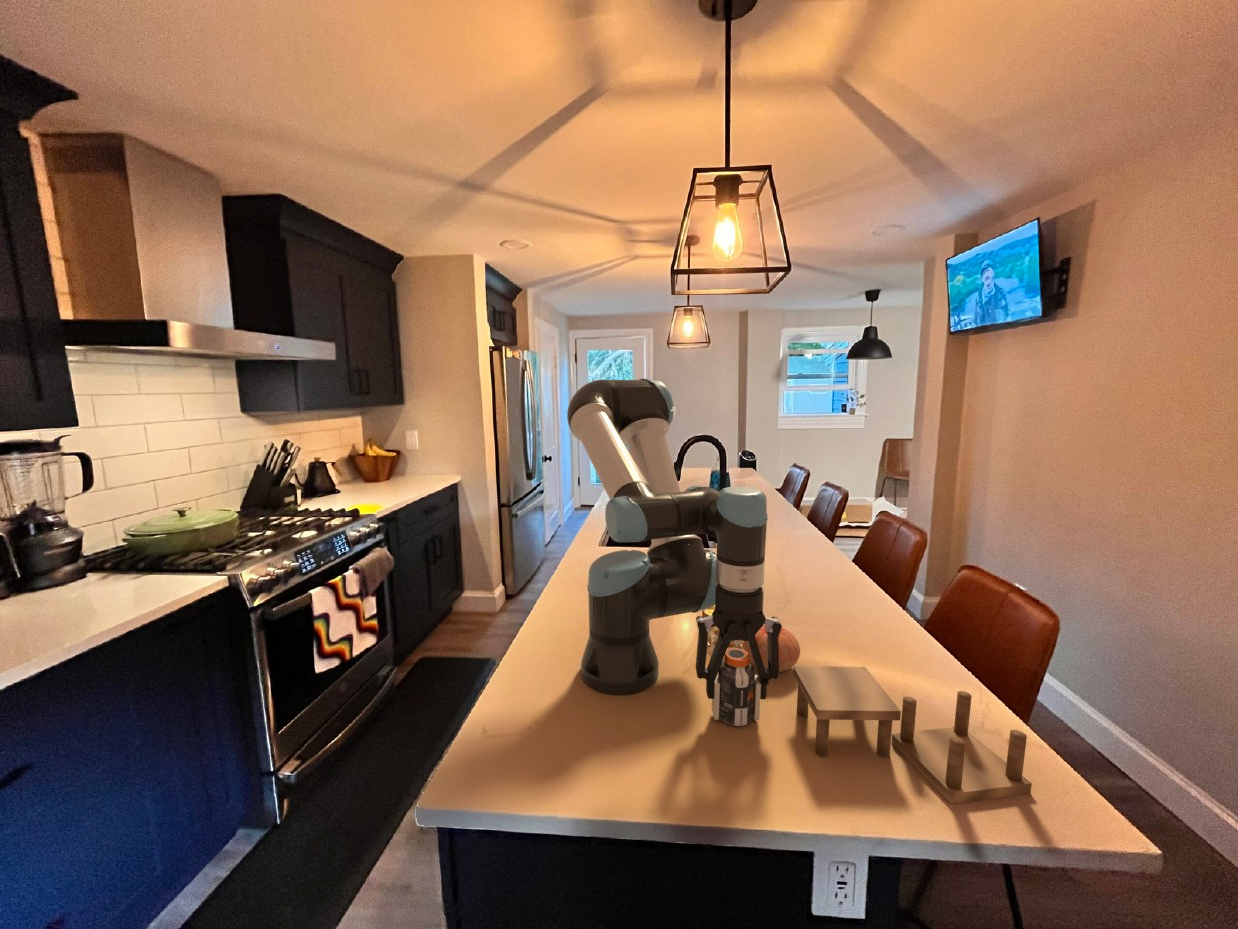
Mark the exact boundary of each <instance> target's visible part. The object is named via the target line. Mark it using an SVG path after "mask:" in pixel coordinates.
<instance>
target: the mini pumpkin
mask: <svg viewBox="0 0 1238 929" xmlns="http://www.w3.org/2000/svg"><path fill="white" fill-rule="evenodd" d="M755 637H756V640H757V644H758V648H759V651H760V655H761V658H762V661H763V665H764V668H765V669H766V668H768V646H767V630H766V628H765V624H764V625H763V626H762V627H761V628H760V630H759V631H758V632H757V633H756V634H755ZM742 642H743V643H742V647H743V650H745V651H746V652H748V653H749V656H750V659H749V660H750V664H751V665H753V666H755V664H754V660H753V657H752V654H751V650H750V647H749V644H748V641H742ZM778 644H779V673H780V672H785V671H787V670H789V669H791V668H793V666H796V664H797V663H798V661H799V658H800V656H801V646H800V644H799V641H798V639H797V638H796V636H795V635H794V634H793V633H792V632H791V631H790V630H788V629H787V628H784V627H782V628H781V631H780V634H779V637H778Z"/></svg>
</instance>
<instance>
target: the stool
mask: <svg viewBox="0 0 1238 929" xmlns="http://www.w3.org/2000/svg"><path fill="white" fill-rule="evenodd" d="M792 675H793V677H794V680H795V681H796V683H797V693H796V694H797V695H796V696H797V699H796V700H797V701H796V716H797V717H799V718H802V719H806V718H808V717H809V708H811V711H812V712H813V714H814V716H815V718H816V724H815V725H816V726H815V727H816V728H815V747H814V749H815V750H814V753H815V754H816V755H817V756H819V757H821V758H826V757H828V756H829V739H830V738H829V737H830V721H831V720H832V721H833V720H834V721H835V720H837V721H839V720H840V721H878V724H877V725H878V726H877V738H876V754H877V755H878V756H879V757H881V758H885V759H888V758H890V756H891V744H892V731H893V730H892V729H893V721H901V718H902V710H901V709H900V708H899V707H898V706H897V704H896V703H895V701H893V700H892V698H891V697H890V695H889V694H888V693H887V692H886V691H885V689H883V687H882V686H881V684H880V683H879V682H878V681H877V680H876V678H875V677H874V676H873V675H872V673H871V672H870V671H869V670H868V668H867V667H866V666H830V665H829V666H827V665H825V666H819V665H817V666H814V665H813V666H811V665H810V666H808V665H807V666H806V665H803V666H802V665H794V666H793V667H792Z"/></svg>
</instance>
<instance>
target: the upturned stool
mask: <svg viewBox="0 0 1238 929" xmlns="http://www.w3.org/2000/svg"><path fill="white" fill-rule="evenodd" d="M971 694H972V693H969V692H967V691H962V690H958V691H957V693H956V706H955V713H954V714H955V715H954V716H955V717H954V724H953V726H952V727H944V728H943V727H942V728H933V729H926V730H924V729H923V730H916V731H915V725H916V715H917V714H916V713H917V705H918V704H917V700H916V699H915V698H914V697H911V696H906V695H905V696H903V697H902V705H901V706H902V707H901V708H902V709H901V717H900V731H899V733H898V732H896V733H891V744H892V745H893V746H894V747H895V748H896V749H897V750H898V751H899V752H900V753H901V754H902V755H903V756H904V757H905V759H907V760H908V761H909V762H910V763H911V764H912V765H913V767H915V768H916V769H917V771H919V773H920V774H921V775H923V777H924V778H925V779H926V780H927V781H928V782H929V783H930V784H931V785H932V786H933V787H934V788H935V789H936V790H937V792H939V793H940V794H941V795H942V796H943V797H944V798H945V799H946V801H948V803H950V804H953V805H954V804H961V803H967V802H974V801H975V802H977V801H982V800H983V801H985V800H989V799H991V800H992V799H998V798H999V799H1000V798H1006V797H1012V796H1013V797H1015V796H1021V795H1027V794H1031V793H1032V786H1033V784H1032V782H1031V781H1030V780H1028V779H1027V778H1026V777H1024V775H1023V772H1024V764H1025V755H1026V747H1027V739H1028V738H1027V737H1028V736H1027V734H1026V733H1024V732H1023V731H1021V730H1018V729H1010V731H1009V738H1008V739H1009V740H1008V745H1007V746H1008V749H1007V756H1006V761H1005V760H1004V759H1003V758H1001V756H999V755H998V754H996V753H995V752H994V751H993V750H992V749H990V748H989V747H988V746H987V745H986V744H984V743H983V742H982V741H981V740H979V739H978V738H977V737H976V736H974V735H973V734H972V733H971V732H969V726H970V715H971V706H972V695H971Z"/></svg>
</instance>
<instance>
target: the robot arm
mask: <svg viewBox="0 0 1238 929" xmlns="http://www.w3.org/2000/svg"><path fill="white" fill-rule="evenodd" d="M673 407H674V401H673V398H672V394H671V392H670V391H669V389H668V387H667V385H665V384H664V382H662V381H660V380H657V379H648V378H639V379H596V380H592V381H589V382H588V383H586V384H583V386H581V387H580V388H579V389H578V390H577V391H576V393H575V394H573V396H572V397H571V400H570V402H569V404H568V408H567V411H566V412H567V414H566V416H567V417H566V418H567V423H568V427H569V429H570V432H571V433H572V435H573V436H574V438H576V439H577V440H578V441H580V442H581V443H582V446H583V447H584V449H585V451H586V454H587V455H588V458H589V460H590V462H591V464H592V466H593V468H594V470H595V472H596V474H597V476H598V478H599V481H600V483H601V485H602V487H603V489H604V491H605V492H606V495H607V498H608V499H609V500H608V501H607V503H606V505H605V511H604V512H605V516H604V517H605V525H606V527H607V528H606V529H607V532H608V535H609V537H610V538H611V539H612V540H613V541H614V542H616V543H640V542H643V541H650V540H651V544H650V546H649V548H648V549H647V551H646V552H644V551H640V550H637V549H636V550H635V549H631V550H629V549H624V550H617V551H612V552H608V553H606V554H603V555H601V556H600V557H597V558H596V559H595V560H594V561H593V562H592V563H591V565H590V566H589V570H588V579H587V580H588V581H587V584H586V586H587V587H586V588H587V592H588V594H587V595H588V626H589V627H588V629H589V635H588V640H587V643H586V646H585V648H584V651H583V655H582V657H581V663H580V670H581V671H580V675H581V679H582V680H583V682H584V683H585V685H587V687H589V688H591V689H593V690H595V691H597V692H600V693H604V694H608V695H630V694H634V693H638V692H642V691H644V690H646V689H649V687H651V686H652V685H653V684H655V683H656V681H657V679H659V678H658V677H659V669H660V668H659V659H658V656H657V652H656V650H655V647H654V645H653V641H652V638H651V635H650V621H652V620H654V619H662V618H667V617H673V616H679V615H683V614H689V613H692V614H693V613H694V614H696V613H698V612H701V611H705V610H708V609H712V608H713V607H714V609H713V612H712V613H711V615H708V616H705V617H703V616H702V615H697V616H696V617H695V620H696V621H695V622H696V625H697V628H698V634H697V644H696V645H697V648H696V656H695V657H696V659H695V672H696V676H697V678H698V679H699V680H702V679H704V680H706V681H705V682H706V684H705V691H706V696H707V699H711V712H712V716H713V720H718V721H719V720H720V717H719V695H720V682H719V679H718V672H719V669H720V666H721V663H722V661H724V658H725V653H726V650H728V648H729V647H730V645H731V643H732V642H735V641H736V642H737V641H742V642H744V641H748V644H749V647H750V650H751V654H752V657H753V660H754V664H755V665H754V664H753V665H754V667H755V669H756V670H755V671H756V673H757V674H755V685H754V709H753V720H754V721H760V714H761V713H760V712H761V700H766V698H767V689H768V685H769V684H770V680H775V681H776V680H778V679H779V678H780V672H779V644H778V637H779V634H780V631H781V628H783V625H782V624H781V622H780V620H779V617H777V616H775V615H774V616H771V617H770V616H765V614H764V593H765V590H764V587H763V586H764V585H765V584H764V583H765V559H766V558H765V556H766V544H767V525H768V524H767V523H768V518H769V517H768V513H767V512H768V511H767V510H768V509H767V503H768V502H767V500H768V499H767V495H766V493H764V492H763V491H762V490H761V489H758V488H755V487H749V486H748V487H747V486H728V487H724V488H722V489H721V490H719V491H718V490H716V489H714V488H711V487H710V486H703V485H699V484H698V485H693V486H690V487H688V488H686V489H685V490H683V491H681V489H680V485H679V481H678V477H677V474H676V471H675V467H674V463H673V460H672V457H671V453H670V450H669V446H668V443H667V438H666V435H667V433H668V432H669V430H670V425H671V424H672V422H673V419H674V414H675V412H674V410H673ZM627 446H628V447H627ZM701 534H704V535H705V534H706V535H708V536H709V537H712V538H714V540H715V539H716V552H715V551H714V550H711V549H708V548H706V549H705V546H704V543H703V540H702V538H701V537H699V536H698V535H701ZM713 624H714V625H715V627H716V628H717V630H718V635H717V636H718V637H717V639H716V642H715V645H714V648H713V651H712V653H711V657H710V659H709V662H708V664H707V663H706V662H707V652H708V651H707V650H708V643H709V642H708V640H709V634H708V633H709V632H710V631H711V630H712V626H713ZM763 625H765V628H766V630H767V646H768V668H766V669H765V668H764V665H763V661H762V658H761V655H760V651H759V648H758V644H757V640H756V637H755V634H756V633H757V632H758V631H759V630H760V628H761V627H762V626H763ZM706 664H707V667H706Z"/></svg>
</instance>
